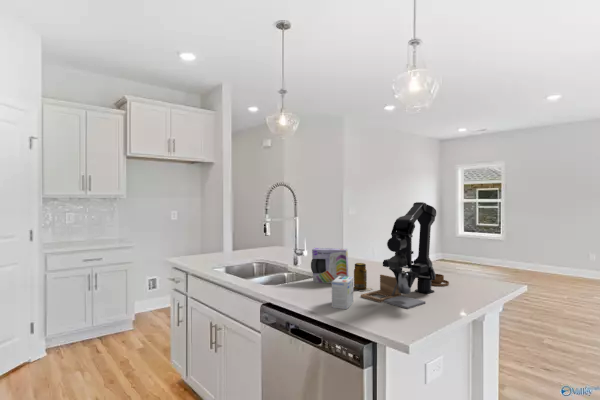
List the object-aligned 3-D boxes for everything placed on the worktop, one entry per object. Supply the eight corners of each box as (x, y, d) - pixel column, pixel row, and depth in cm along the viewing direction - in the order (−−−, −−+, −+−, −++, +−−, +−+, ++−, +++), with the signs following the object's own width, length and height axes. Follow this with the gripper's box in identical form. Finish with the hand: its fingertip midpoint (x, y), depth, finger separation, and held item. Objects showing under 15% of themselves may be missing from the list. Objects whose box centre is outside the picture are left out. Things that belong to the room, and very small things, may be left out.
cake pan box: (310, 282, 189) (310, 248, 189) (313, 280, 193) (313, 247, 193) (347, 285, 183) (347, 249, 182) (349, 282, 187) (348, 248, 187)
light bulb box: (338, 300, 155) (338, 275, 155) (353, 302, 153) (353, 276, 153) (331, 307, 145) (331, 280, 145) (347, 309, 143) (347, 282, 143)
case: (381, 291, 169) (381, 274, 169) (401, 296, 161) (401, 278, 161) (360, 296, 161) (360, 278, 161) (380, 302, 152) (380, 283, 152)
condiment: (361, 286, 180) (361, 262, 180) (372, 289, 173) (372, 264, 173) (349, 288, 177) (349, 263, 177) (360, 291, 169) (360, 266, 169)
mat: (401, 297, 160) (401, 295, 160) (425, 303, 151) (425, 301, 151) (383, 302, 153) (383, 300, 153) (407, 308, 143) (407, 306, 143)
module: (403, 290, 155) (403, 269, 155) (413, 292, 151) (413, 271, 151) (395, 292, 152) (395, 271, 152) (405, 294, 148) (405, 273, 148)
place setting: (441, 290, 174) (441, 277, 174) (402, 283, 187) (402, 272, 187) (454, 283, 187) (454, 272, 187) (416, 277, 200) (416, 267, 200)
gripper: (374, 248, 154) (374, 284, 154) (411, 253, 139) (412, 294, 139) (390, 245, 161) (391, 281, 161) (428, 250, 146) (428, 289, 146)
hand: (404, 286), depth 152 cm, fingers closed on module, 5 cm apart
